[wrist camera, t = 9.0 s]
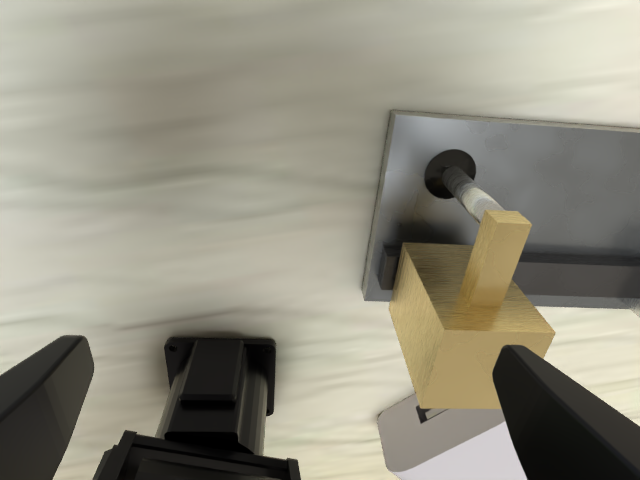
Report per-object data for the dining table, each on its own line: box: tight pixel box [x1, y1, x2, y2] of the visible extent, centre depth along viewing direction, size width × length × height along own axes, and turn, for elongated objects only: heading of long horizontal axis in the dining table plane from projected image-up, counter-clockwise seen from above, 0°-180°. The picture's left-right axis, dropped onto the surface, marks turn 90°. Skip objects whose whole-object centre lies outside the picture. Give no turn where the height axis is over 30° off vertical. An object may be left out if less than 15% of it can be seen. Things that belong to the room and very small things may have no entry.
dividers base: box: [362, 110, 640, 317], centre depth 20 cm, size 10×20×4 cm, turn 85°
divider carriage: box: [389, 166, 555, 409], centre depth 17 cm, size 8×4×7 cm, turn 175°
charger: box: [377, 393, 527, 480], centre depth 28 cm, size 5×9×15 cm
